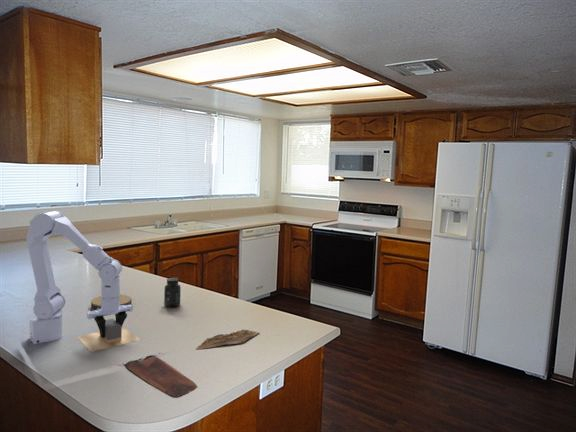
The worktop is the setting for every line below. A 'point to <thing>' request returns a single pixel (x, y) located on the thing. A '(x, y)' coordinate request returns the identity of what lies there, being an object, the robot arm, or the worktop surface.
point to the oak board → (98, 343)
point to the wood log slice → (97, 301)
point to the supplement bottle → (172, 293)
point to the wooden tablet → (162, 376)
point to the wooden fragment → (228, 339)
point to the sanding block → (112, 331)
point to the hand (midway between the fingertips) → (110, 335)
